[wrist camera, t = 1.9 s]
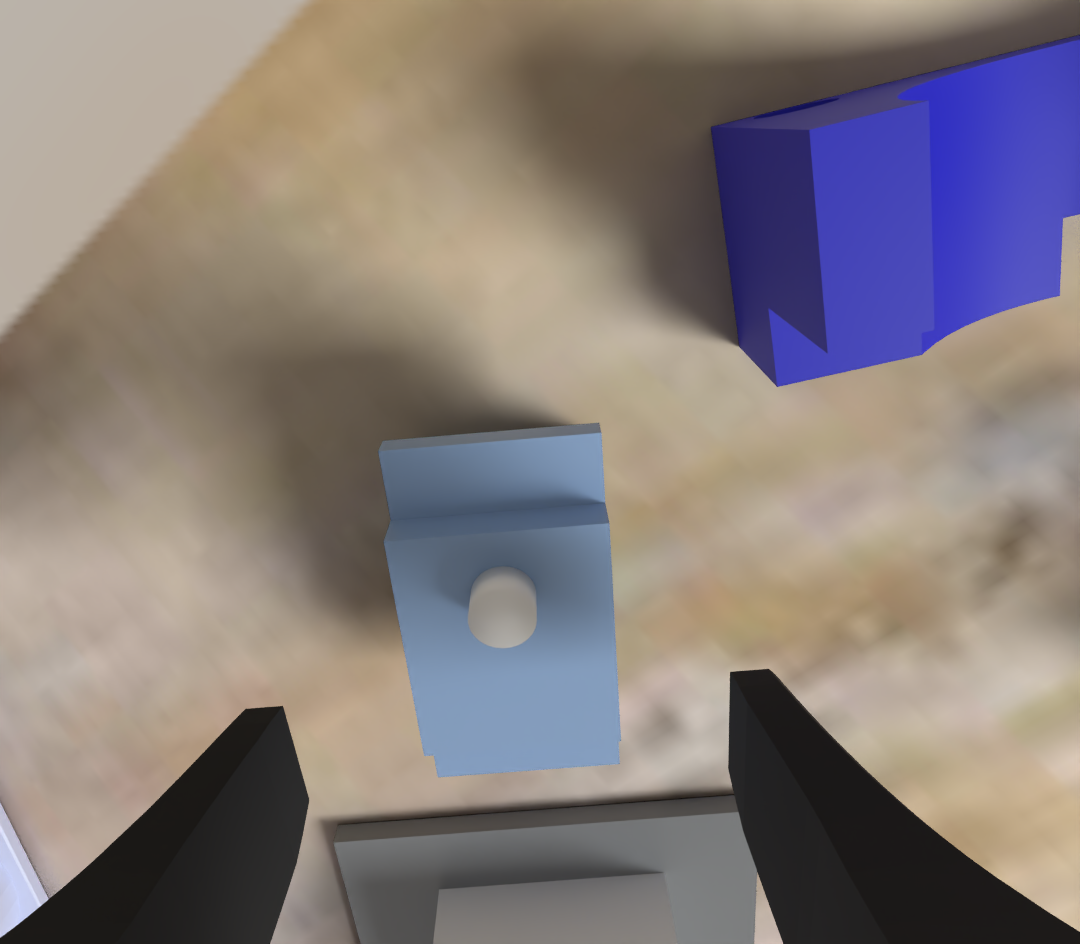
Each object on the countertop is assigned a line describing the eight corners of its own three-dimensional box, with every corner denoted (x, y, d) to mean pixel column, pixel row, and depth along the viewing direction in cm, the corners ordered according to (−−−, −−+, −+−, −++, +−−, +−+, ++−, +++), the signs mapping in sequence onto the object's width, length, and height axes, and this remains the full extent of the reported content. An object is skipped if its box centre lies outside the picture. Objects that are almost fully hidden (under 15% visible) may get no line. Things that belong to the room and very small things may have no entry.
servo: (452, 669, 21) (429, 838, 16) (407, 386, 17) (360, 490, 13) (604, 657, 20) (627, 823, 16) (587, 371, 17) (609, 468, 12)
